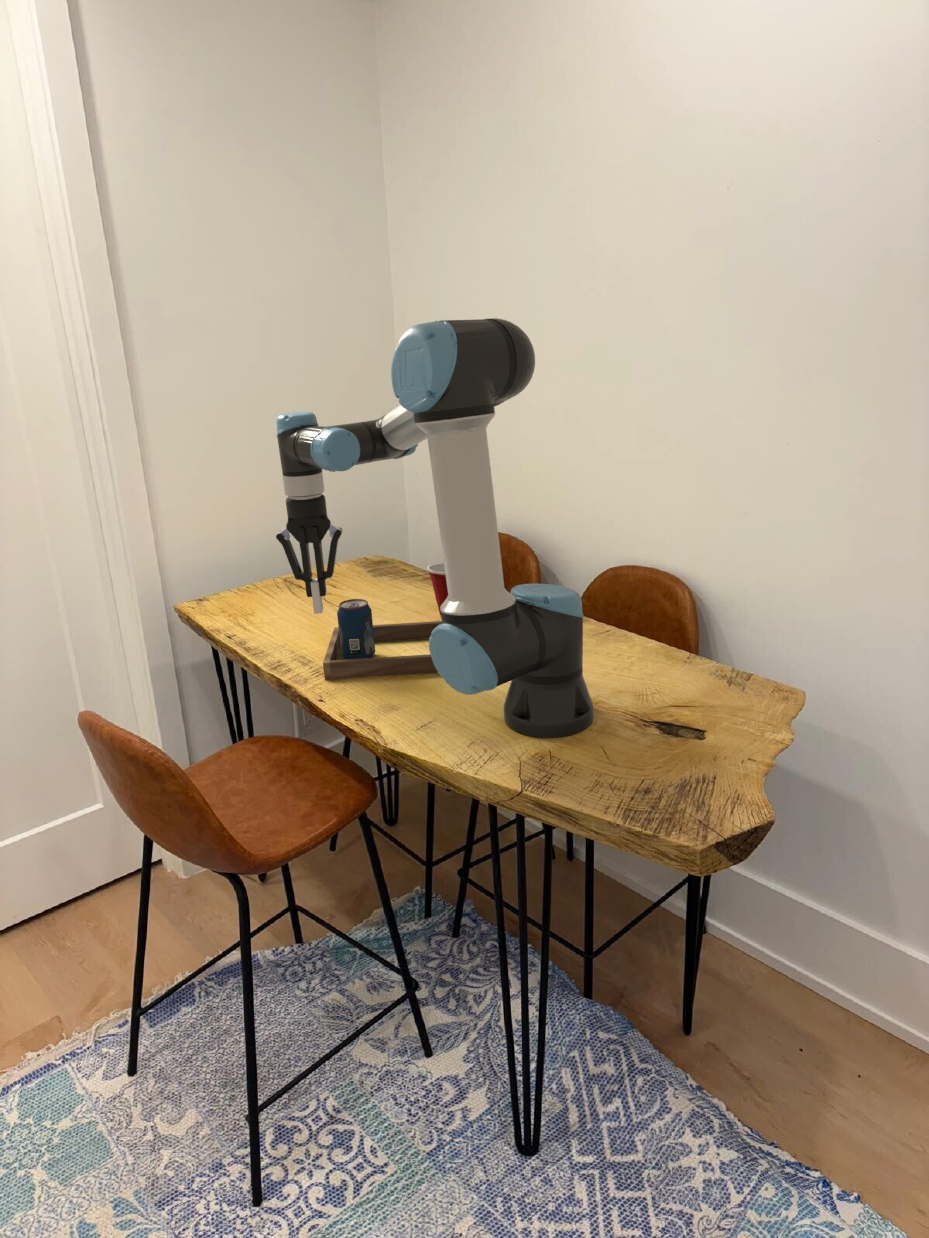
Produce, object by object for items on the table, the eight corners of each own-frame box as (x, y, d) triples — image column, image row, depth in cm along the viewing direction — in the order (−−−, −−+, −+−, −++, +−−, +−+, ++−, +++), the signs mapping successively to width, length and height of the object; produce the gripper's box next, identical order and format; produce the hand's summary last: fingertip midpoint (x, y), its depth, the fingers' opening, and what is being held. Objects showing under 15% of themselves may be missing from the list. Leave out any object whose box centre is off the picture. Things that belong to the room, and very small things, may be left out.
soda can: (345, 652, 176) (339, 598, 171) (378, 651, 175) (373, 597, 171) (339, 665, 169) (333, 609, 165) (373, 664, 169) (368, 608, 165)
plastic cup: (486, 614, 194) (484, 564, 190) (451, 627, 187) (448, 575, 183) (455, 604, 201) (452, 556, 197) (420, 616, 194) (417, 567, 190)
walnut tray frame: (451, 672, 163) (450, 655, 162) (324, 679, 163) (322, 663, 161) (449, 635, 182) (448, 620, 181) (336, 642, 181) (334, 627, 180)
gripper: (341, 489, 164) (352, 603, 172) (274, 493, 164) (289, 607, 172) (337, 497, 157) (349, 615, 165) (267, 501, 157) (283, 619, 165)
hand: (318, 611), depth 168 cm, fingers closed
